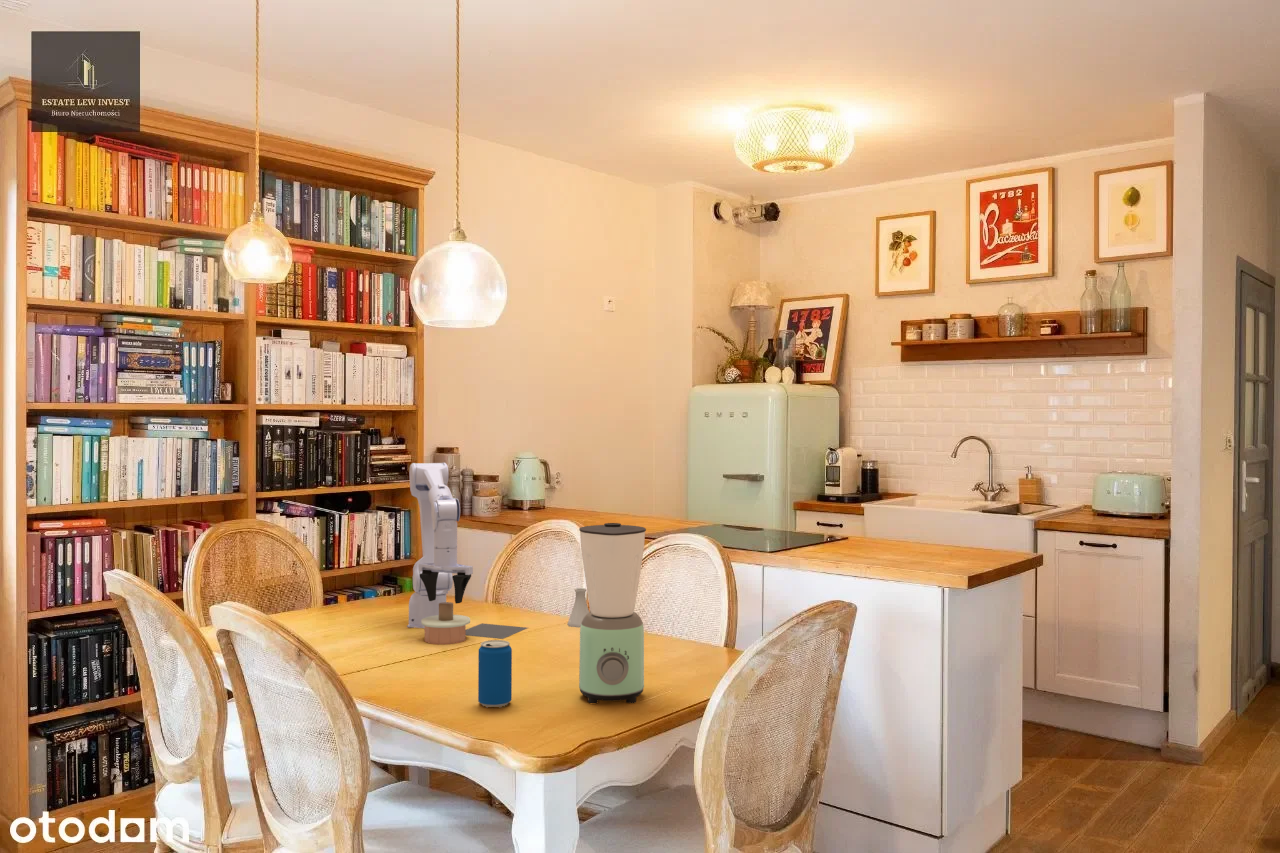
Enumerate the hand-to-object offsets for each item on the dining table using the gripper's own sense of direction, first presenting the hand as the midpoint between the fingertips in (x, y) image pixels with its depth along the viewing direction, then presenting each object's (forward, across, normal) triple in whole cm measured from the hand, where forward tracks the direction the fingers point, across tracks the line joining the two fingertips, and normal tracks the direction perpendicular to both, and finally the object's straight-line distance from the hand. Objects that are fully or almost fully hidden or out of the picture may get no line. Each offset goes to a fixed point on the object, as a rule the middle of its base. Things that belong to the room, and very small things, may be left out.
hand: (445, 601), depth 249 cm
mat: (+10, +6, +13) cm, 17 cm away
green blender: (+10, +57, -29) cm, 65 cm away
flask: (+10, +24, +29) cm, 39 cm away
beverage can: (+10, +38, -43) cm, 58 cm away
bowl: (+10, 0, 0) cm, 10 cm away
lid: (+5, 0, 0) cm, 5 cm away
